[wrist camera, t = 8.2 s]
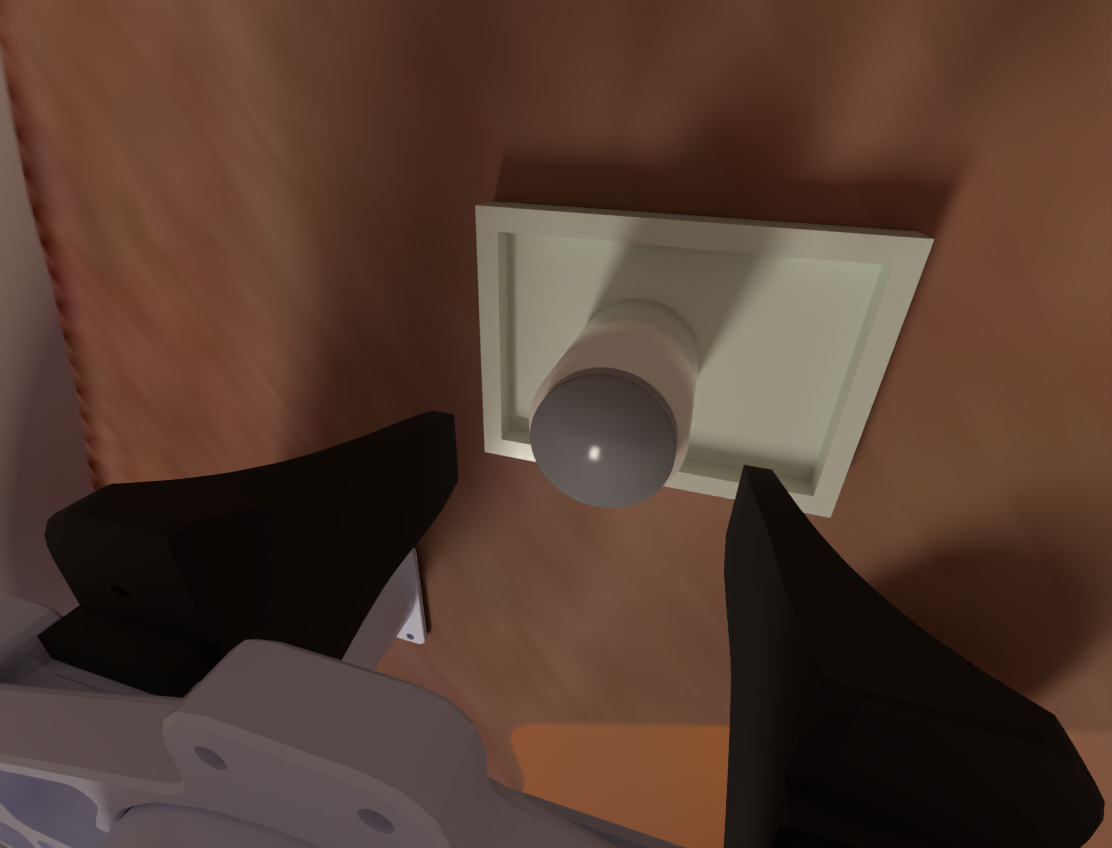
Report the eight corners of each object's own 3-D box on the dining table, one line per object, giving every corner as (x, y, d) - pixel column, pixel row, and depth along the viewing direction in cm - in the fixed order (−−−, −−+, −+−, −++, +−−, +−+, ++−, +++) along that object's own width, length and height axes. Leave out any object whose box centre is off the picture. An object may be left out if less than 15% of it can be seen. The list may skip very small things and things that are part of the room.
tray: (498, 434, 24) (484, 451, 23) (492, 201, 19) (475, 205, 18) (823, 493, 21) (830, 517, 19) (916, 230, 16) (934, 239, 15)
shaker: (574, 401, 21) (517, 496, 16) (583, 291, 19) (521, 354, 13) (686, 422, 20) (671, 532, 15) (710, 308, 18) (703, 384, 12)
